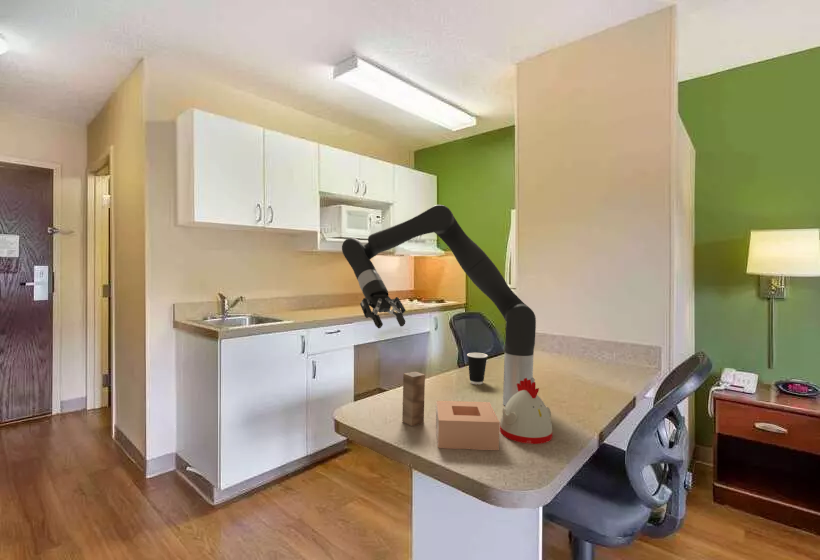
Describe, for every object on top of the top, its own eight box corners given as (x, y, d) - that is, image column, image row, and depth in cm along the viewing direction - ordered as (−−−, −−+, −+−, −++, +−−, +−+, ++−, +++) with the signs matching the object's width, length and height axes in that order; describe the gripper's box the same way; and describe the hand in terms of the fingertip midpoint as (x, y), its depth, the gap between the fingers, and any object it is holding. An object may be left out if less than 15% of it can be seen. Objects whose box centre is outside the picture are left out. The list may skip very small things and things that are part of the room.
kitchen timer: (521, 447, 105) (523, 388, 105) (489, 427, 118) (491, 374, 117) (563, 439, 111) (565, 383, 110) (529, 421, 123) (531, 370, 123)
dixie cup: (491, 384, 160) (491, 356, 160) (473, 386, 157) (474, 357, 157) (479, 379, 168) (480, 352, 167) (462, 381, 164) (463, 353, 164)
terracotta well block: (488, 426, 118) (489, 402, 118) (498, 450, 103) (499, 422, 103) (435, 424, 118) (436, 400, 118) (438, 448, 103) (438, 420, 103)
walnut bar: (414, 418, 123) (415, 371, 123) (423, 423, 120) (424, 374, 119) (402, 421, 120) (403, 373, 120) (411, 426, 117) (413, 377, 116)
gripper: (358, 278, 130) (378, 319, 122) (395, 278, 139) (415, 317, 130) (349, 294, 134) (367, 335, 126) (385, 293, 143) (404, 331, 135)
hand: (392, 325), depth 128 cm, fingers open, 8 cm apart
